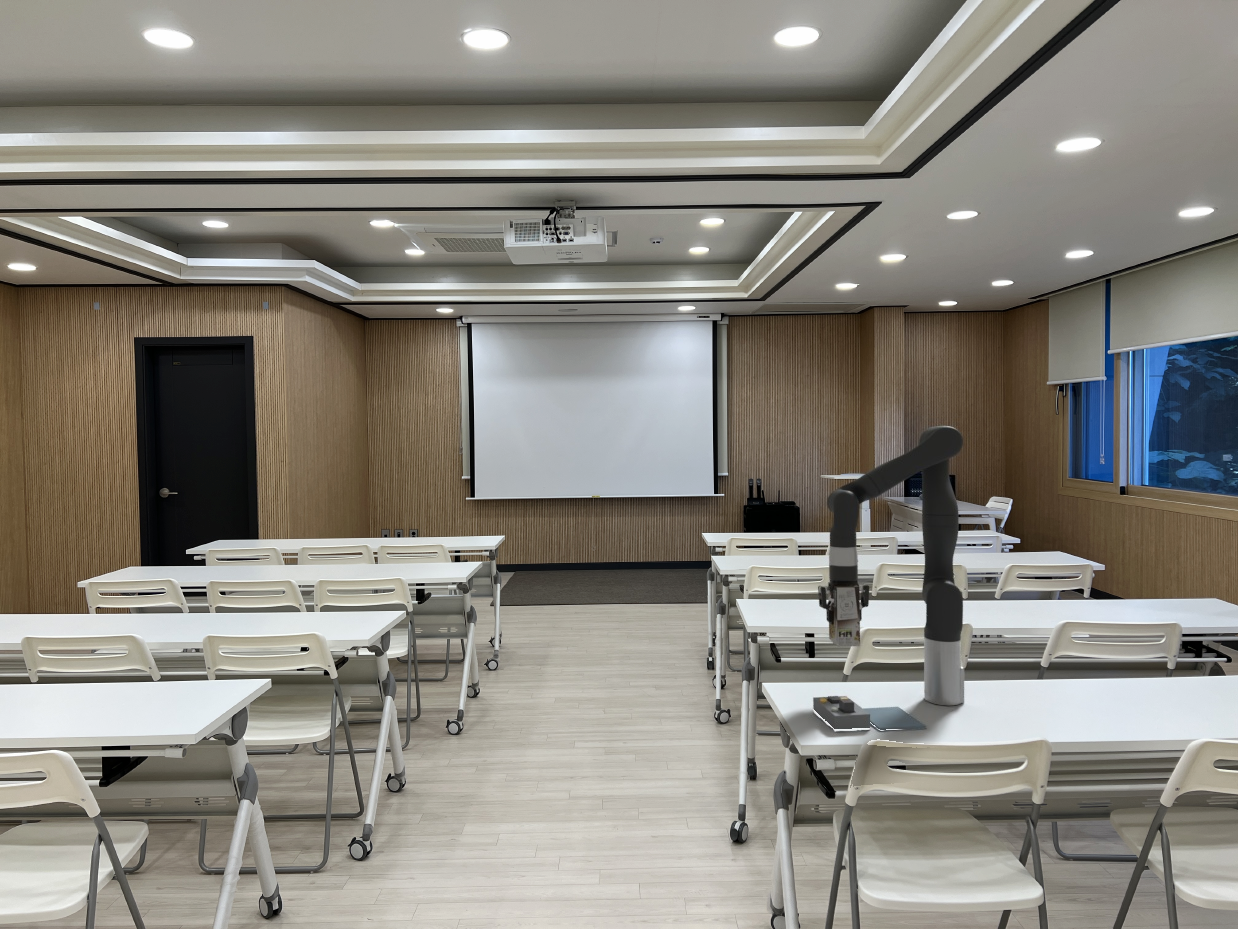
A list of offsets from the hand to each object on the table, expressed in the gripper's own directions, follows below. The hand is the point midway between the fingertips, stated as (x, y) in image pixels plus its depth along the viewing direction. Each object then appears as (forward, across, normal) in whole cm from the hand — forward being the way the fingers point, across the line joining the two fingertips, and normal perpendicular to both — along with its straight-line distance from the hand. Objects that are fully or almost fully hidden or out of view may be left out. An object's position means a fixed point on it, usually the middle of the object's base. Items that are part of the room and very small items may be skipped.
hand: (844, 623), depth 204 cm
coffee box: (+6, 0, 0) cm, 6 cm away
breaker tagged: (+20, +7, +11) cm, 24 cm away
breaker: (+18, +7, +18) cm, 26 cm away
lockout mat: (+22, -5, +15) cm, 27 cm away
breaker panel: (+22, +7, +14) cm, 27 cm away
